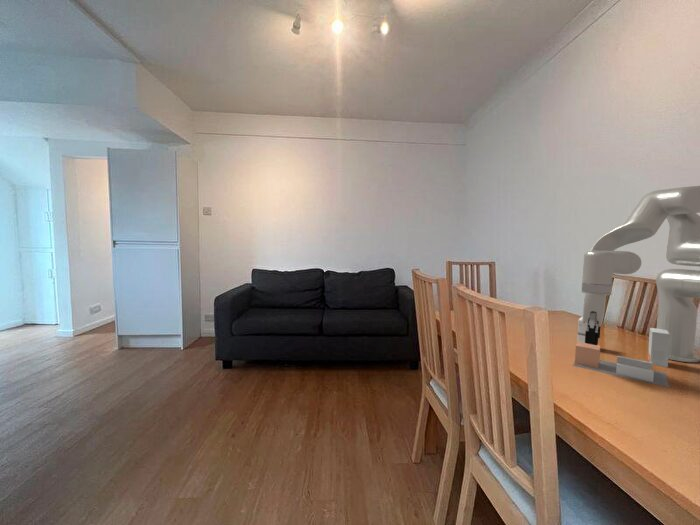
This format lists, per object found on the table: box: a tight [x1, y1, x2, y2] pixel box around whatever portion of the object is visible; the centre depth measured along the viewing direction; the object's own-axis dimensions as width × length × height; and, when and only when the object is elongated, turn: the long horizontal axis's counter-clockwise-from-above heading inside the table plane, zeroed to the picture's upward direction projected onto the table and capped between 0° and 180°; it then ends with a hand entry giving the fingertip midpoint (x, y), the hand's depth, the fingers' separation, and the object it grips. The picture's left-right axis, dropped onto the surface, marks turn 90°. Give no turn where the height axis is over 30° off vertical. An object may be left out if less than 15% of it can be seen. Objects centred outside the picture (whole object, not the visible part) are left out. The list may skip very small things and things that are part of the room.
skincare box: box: [647, 327, 670, 368], centre depth 100 cm, size 6×4×12 cm
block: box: [574, 341, 601, 368], centre depth 100 cm, size 6×6×6 cm
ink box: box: [576, 315, 588, 343], centre depth 116 cm, size 9×5×12 cm, turn 133°
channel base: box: [572, 355, 671, 388], centre depth 95 cm, size 12×22×4 cm, turn 47°
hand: (592, 340), depth 99 cm, fingers open, 9 cm apart
